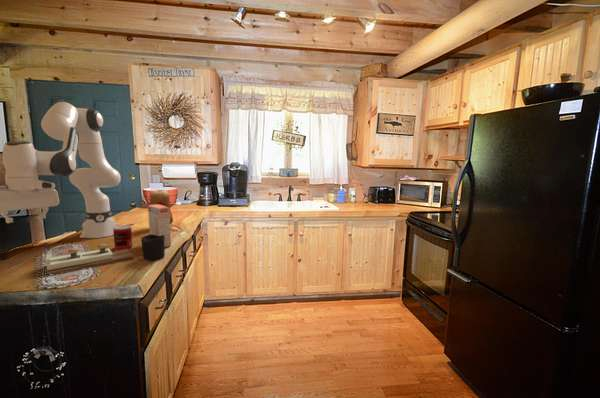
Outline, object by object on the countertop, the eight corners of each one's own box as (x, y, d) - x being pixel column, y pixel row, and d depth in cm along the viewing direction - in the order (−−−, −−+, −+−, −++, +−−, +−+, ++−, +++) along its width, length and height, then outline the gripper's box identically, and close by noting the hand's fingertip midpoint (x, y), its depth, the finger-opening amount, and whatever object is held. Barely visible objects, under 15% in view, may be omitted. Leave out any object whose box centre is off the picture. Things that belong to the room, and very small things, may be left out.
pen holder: (161, 252, 134) (160, 233, 132) (168, 258, 127) (167, 237, 126) (140, 257, 128) (138, 236, 126) (145, 263, 121) (144, 241, 119)
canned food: (129, 244, 145) (127, 224, 143) (135, 247, 140) (133, 226, 138) (112, 248, 139) (110, 226, 138) (118, 251, 134) (116, 229, 133)
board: (47, 264, 116) (46, 249, 115) (127, 250, 136) (126, 237, 135) (47, 275, 106) (45, 258, 105) (133, 258, 125) (132, 244, 124)
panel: (47, 262, 115) (46, 253, 114) (109, 252, 129) (108, 243, 128) (47, 270, 107) (46, 260, 107) (113, 258, 122) (112, 249, 121)
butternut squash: (149, 231, 170) (147, 191, 166) (149, 227, 181) (147, 189, 178) (174, 229, 177) (172, 190, 173) (172, 224, 188) (170, 188, 184)
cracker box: (171, 246, 144) (169, 207, 141) (159, 249, 139) (157, 208, 136) (161, 240, 153) (159, 203, 150) (149, 242, 149) (147, 204, 146)
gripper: (-15, 186, 93) (-10, 226, 95) (59, 183, 111) (62, 217, 113) (-22, 185, 96) (-17, 224, 98) (52, 182, 114) (55, 215, 116)
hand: (26, 220), depth 105 cm, fingers open, 8 cm apart
